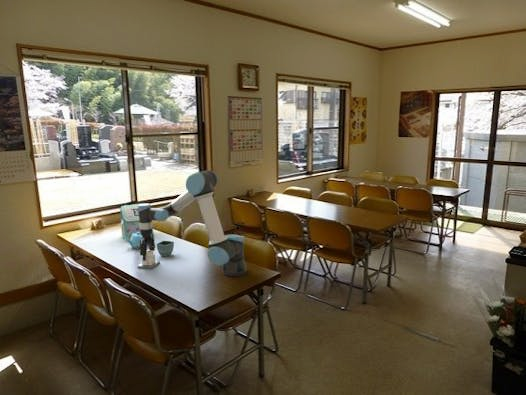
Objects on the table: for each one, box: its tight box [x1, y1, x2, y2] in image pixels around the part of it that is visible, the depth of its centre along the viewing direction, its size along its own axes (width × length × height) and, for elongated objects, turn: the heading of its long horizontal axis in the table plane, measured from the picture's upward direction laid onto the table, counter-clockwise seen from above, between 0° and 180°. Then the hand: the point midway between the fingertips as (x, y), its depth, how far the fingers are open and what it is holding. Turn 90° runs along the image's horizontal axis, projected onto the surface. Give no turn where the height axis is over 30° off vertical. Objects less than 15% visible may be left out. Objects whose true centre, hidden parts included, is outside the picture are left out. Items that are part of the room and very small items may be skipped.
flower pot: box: [155, 240, 175, 257], centre depth 266 cm, size 9×9×9 cm
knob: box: [141, 249, 156, 265], centre depth 247 cm, size 6×6×8 cm
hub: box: [137, 257, 161, 270], centre depth 247 cm, size 10×10×6 cm
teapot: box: [124, 232, 142, 250], centre depth 284 cm, size 15×14×11 cm
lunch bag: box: [119, 203, 154, 240], centre depth 306 cm, size 23×16×27 cm
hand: (148, 262), depth 248 cm, fingers open, 7 cm apart
